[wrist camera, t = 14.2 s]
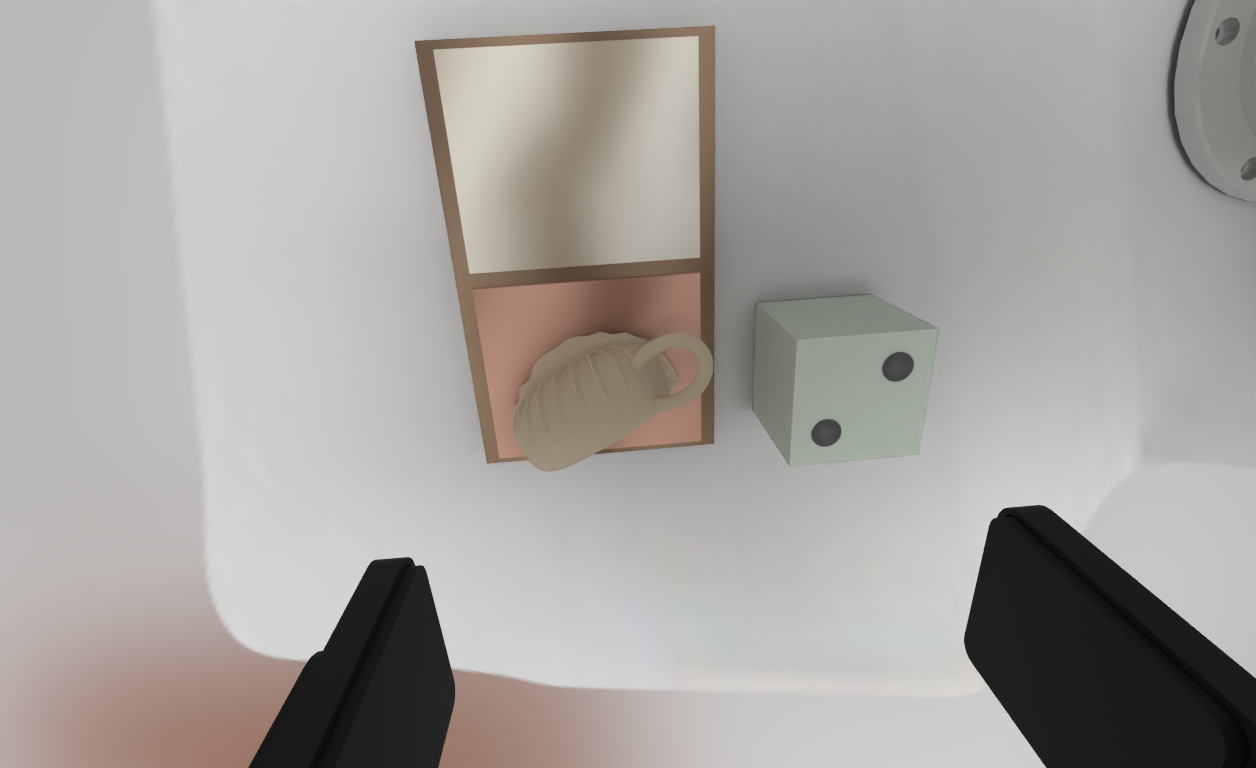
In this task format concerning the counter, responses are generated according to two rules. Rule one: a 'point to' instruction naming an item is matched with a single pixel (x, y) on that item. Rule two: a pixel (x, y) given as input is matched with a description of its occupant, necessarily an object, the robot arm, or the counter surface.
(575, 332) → the brown framed panel
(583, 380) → the decorative ornament
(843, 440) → the die
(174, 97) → the counter surface
